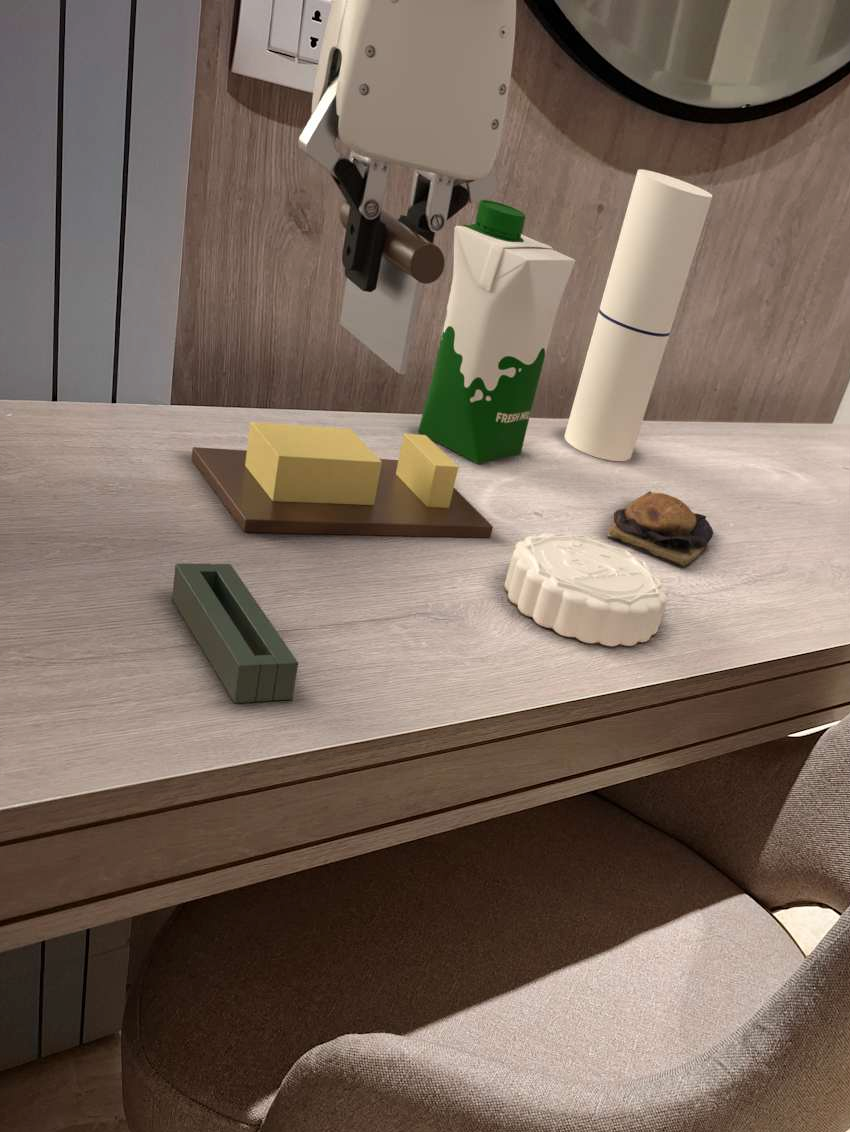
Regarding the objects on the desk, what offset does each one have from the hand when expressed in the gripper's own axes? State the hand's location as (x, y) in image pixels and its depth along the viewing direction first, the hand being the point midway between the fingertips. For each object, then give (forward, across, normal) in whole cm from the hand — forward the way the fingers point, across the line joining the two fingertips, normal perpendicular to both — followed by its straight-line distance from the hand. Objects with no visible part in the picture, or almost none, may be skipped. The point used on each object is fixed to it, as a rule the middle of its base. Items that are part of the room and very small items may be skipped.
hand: (381, 285), depth 73 cm
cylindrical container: (+19, -40, -24) cm, 50 cm away
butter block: (+18, -2, -10) cm, 21 cm away
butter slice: (+18, -12, -10) cm, 24 cm away
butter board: (+19, -5, -10) cm, 22 cm away
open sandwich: (+19, -33, -4) cm, 39 cm away
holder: (+19, +11, +11) cm, 24 cm away
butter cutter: (+4, 0, 0) cm, 4 cm away
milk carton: (+19, -24, -23) cm, 38 cm away
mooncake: (+19, -17, +7) cm, 26 cm away
